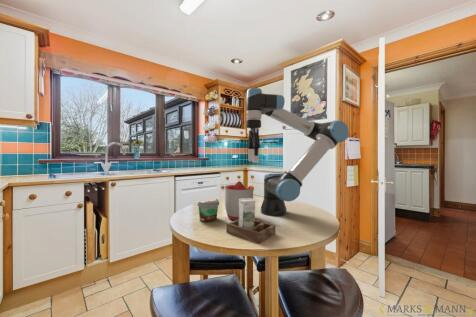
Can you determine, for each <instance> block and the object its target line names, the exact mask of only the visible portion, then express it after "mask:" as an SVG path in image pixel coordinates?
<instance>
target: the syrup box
mask: <svg viewBox="0 0 476 317" xmlns="http://www.w3.org/2000/svg"><path fill="white" fill-rule="evenodd" d="M255 216H256V200H254V198H253V199H252V198H242V199H239V220H238V226H240V227H244V228H247V229H250V228H252V227H254V224H255V219H256V218H255Z"/></svg>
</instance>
